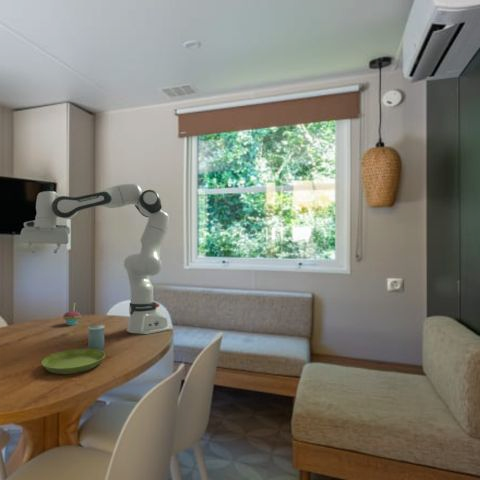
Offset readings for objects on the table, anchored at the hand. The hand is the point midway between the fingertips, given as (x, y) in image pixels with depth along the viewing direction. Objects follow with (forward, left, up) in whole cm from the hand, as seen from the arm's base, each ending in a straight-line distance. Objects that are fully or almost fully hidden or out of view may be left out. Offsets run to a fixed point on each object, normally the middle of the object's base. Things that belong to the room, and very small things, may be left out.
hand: (44, 252), depth 156 cm
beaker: (-19, +36, -39) cm, 57 cm away
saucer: (-10, +50, -40) cm, 65 cm away
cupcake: (-13, -15, -40) cm, 44 cm away
